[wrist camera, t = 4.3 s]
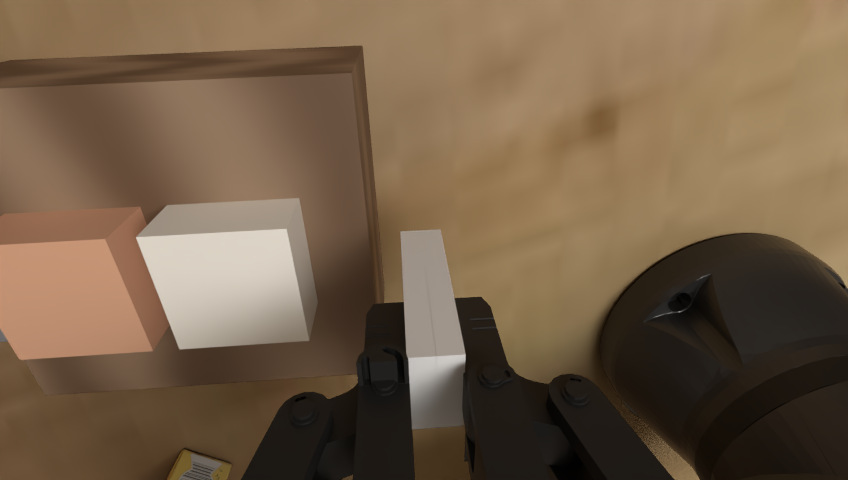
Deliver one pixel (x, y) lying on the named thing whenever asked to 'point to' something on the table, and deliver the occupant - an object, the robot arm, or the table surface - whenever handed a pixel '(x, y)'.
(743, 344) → the robot arm
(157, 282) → the tile offwhite
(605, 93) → the table surface
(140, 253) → the tile terracotta
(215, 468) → the candy box
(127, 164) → the brown wooden block
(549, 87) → the table surface
